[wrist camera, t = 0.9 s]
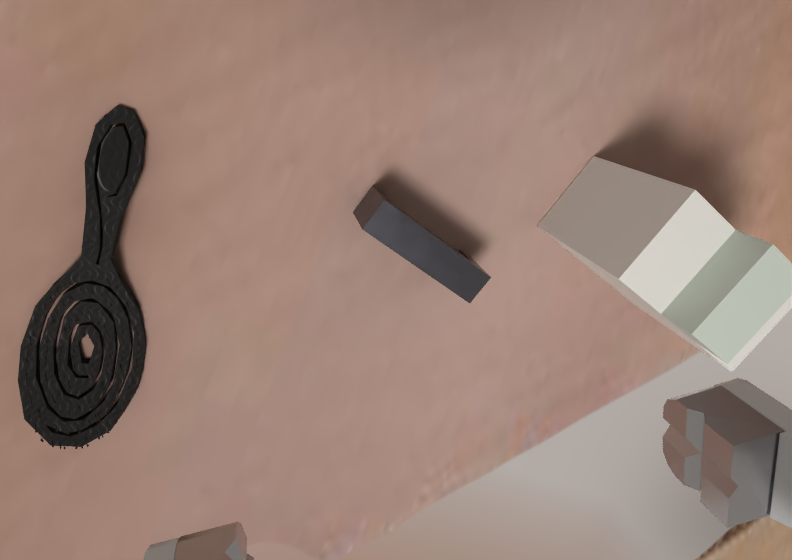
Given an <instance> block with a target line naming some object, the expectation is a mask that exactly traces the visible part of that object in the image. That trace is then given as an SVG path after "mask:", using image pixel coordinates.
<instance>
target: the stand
mask: <svg viewBox="0 0 792 560" xmlns="http://www.w3.org/2000/svg"><path fill="white" fill-rule="evenodd" d="M537 226H538V227H539V228H540V229H541V230H543V231H544V232H545V233H546V234H548V235H549V236H550V237H551V238H552V239H554V240H555V241H556V242H557V243H559V244H560V245H561V246H562V247H564V248H565V249H566V250H567V251H569V252H570V253H571V254H572V255H574V256H575V257H576V258H577V259H578V260H580V261H581V262H582V263H583V264H585V265H586V266H587V267H588V268H590V269H591V270H592V271H593V272H595V273H596V274H597V275H598V276H599V277H601V278H602V279H603V280H604V281H606V282H607V283H608V284H609V285H611V286H612V287H613V288H614V289H616V290H617V291H618V292H619V293H620V294H622V295H623V296H624V297H625V298H627V299H628V300H629V301H630V302H632V303H633V304H634V305H635V306H637V307H638V308H640V309H641V310H643V311H644V312H646V313H647V314H648V315H650V316H651V317H653V318H654V319H656V320H657V321H659V322H660V323H661V324H663V325H664V326H666V327H667V328H669V329H670V330H672V331H673V332H674V333H676V334H677V335H679V336H680V337H682V338H683V339H685V340H686V341H688V342H689V343H690V344H692V345H693V346H695V347H696V348H698V349H699V350H701V351H702V352H703V353H705V354H706V355H708V356H709V357H711V358H712V359H714V360H715V361H716V362H718V363H720V364H721V365H722V366H724V367H725V368H727V369H728V370H729V371H731V372H732V371H733V370H734V369H735V368H736V367H737V366H738V365H739V364H740V363H741V361H743V359H744V358H745V357H746V356H747V355H748V354H749V353H750V352H751V351H752V350H753V349H754V348H755V346H756V345H758V343H759V342H760V341H761V340H762V339H763V338H764V337H765V336H766V335H767V334H768V333H769V331H770V330H772V328H773V327H774V326H775V325H776V324H777V323H778V322H779V321H780V320H781V319H782V318H783V317H784V316H785V315H786V313H787V312H788V311H789V310H790V309H791V308H792V263H791V262H790V261H789V260H788V259H787V258H786V257H785V256H784V255H783V254H782V253H781V252H780V251H779V250H778V249H777V248H776V247H775V246H774V245H773V244H771V243H768V242H766V241H763V240H761V239H758V238H755V237H753V236H750V235H748V234H745V233H743V232H740V231H737V230H735V229H734V228H733V227H732V226H731V225H730V224H729V223H728V222H727V221H726V220H725V219H724V218H723V217H722V216H721V215H720V214H719V213H718V212H717V211H716V210H715V209H714V208H713V207H712V206H711V205H710V204H709V203H708V202H707V201H706V200H705V199H704V198H703V197H702V196H701V195H700V194H699V193H698V192H697V191H696V190H695V189H692V188H689V187H686V186H683V185H680V184H677V183H674V182H671V181H668V180H665V179H662V178H659V177H656V176H653V175H649V174H646V173H643V172H640V171H637V170H634V169H631V168H628V167H625V166H622V165H619V164H616V163H613V162H610V161H607V160H604V159H601V158H598V157H595V156H593V157H592V159H591V160H590V161H589V162H588V164H587V165H586V166H585V167H584V169H583V170H582V171H581V172H580V173H579V175H578V176H577V177H576V178H575V180H574V181H573V182H572V183H571V185H570V186H569V187H568V188H567V189H566V191H565V192H564V193H563V194H562V196H561V197H560V198H559V199H558V201H557V202H556V203H555V204H554V205H553V207H552V208H551V209H550V210H549V212H548V213H547V214H546V215H545V217H544V218H543V219H542V220H541V221H540V223H539V224H538V225H537Z"/></svg>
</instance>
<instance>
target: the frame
mask: <svg viewBox="0 0 792 560" xmlns="http://www.w3.org/2000/svg"><path fill="white" fill-rule="evenodd" d="M353 213H354V215H355V217H356V219H357V220H358V222H359V224H360V226H361V228H362V229H363V230H364V231H366V232H367V233H369V234H370V235H371V236H373V237H374V238H376V239H377V240H379V241H380V242H382V243H383V244H384V245H386V246H387V247H389V248H390V249H392V250H393V251H395V252H396V253H398V254H399V255H400V256H402V257H403V258H405V259H406V260H408V261H409V262H411V263H412V264H414V265H415V266H416V267H418V268H419V269H421V270H422V271H424V272H425V273H427V274H428V275H429V276H431V277H432V278H434V279H435V280H437V281H438V282H440V283H441V284H443V285H444V286H445V287H447V288H448V289H450V290H451V291H453V292H454V293H456V294H457V295H458V296H460V297H461V298H463V299H464V300H466V301H467V302H469V303H471V301H472V300H473V299H474V298H475V296H476V295H477V294H478V293H479V291H480V290H481V289H482V288H483V287H484V285H485V284H486V283H487V282H488V280H489V279H490V278H491V277H490V276H489V275H488V274H487V273H486V272H485V271H484V270H483V269H482V268H481V267H480V266H479V265H478V264H477V263H476V262H475V261H474V260H473V259H472V258H471V257H470V256H468V255H467V254H466V253H464V252H463V251H461V250H460V251H459V252H458V251H457V250H455V249H454V248H452V247H451V246H450V245H448V244H447V243H446V242H444V241H443V240H441V239H440V238H439V237H437V236H436V235H435V234H433V233H432V232H431V231H429V230H428V229H426V228H425V227H424V226H422V225H421V224H420V223H418V222H417V221H415V220H414V219H413V218H411V217H410V216H409V215H407V214H406V213H404V212H403V211H402V210H400V209H399V208H398V207H396V206H395V205H393V203H392V202H391V201H390V200H389V199H388V197H387V196H386V195H385V194H384V193H382V192H381V191H379V190H378V189H377V188H375V187H374V186H372V187H371V189H370V190H369V191H368V193H367V194H366V195H365V197H364V198H363V200H362V201H361V202H360V204H359V205H358V206H357V208H356V209H355V210H354V212H353Z"/></svg>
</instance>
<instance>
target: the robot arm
mask: <svg viewBox="0 0 792 560" xmlns="http://www.w3.org/2000/svg"><path fill="white" fill-rule="evenodd" d="M663 418H664V419H665V420H666V421H667V422H668V423H669V424H670V426H669V428H668V429H667V431H666V433H665V434H664V436H663V452H664V455H665V458H666V461H667V463H668V466H669V467H670V469H671V470H672V472H673V473H674V475H675V476H676V477H677V478H678V479H679V480H680V481H681V482H682V483H683V484H684V485H686V486H688V487H691V488H694V489H696V490H699V491H700V501H701V503H702V504H703V505H704V506H705V507H706V508H707V509H709V510H710V512H711V513H712V514H714V516H716V517H717V518H718V519H719V520H720V521H721V522H722V523H723V524H724V525H725V526H726V527H731V526H734V525H738V524H741V523H744V522H748V521H751V520H755V519H758V518H762V517H765V516H769V515H770V518H772V519H774V520H776V521H778V522H780V523H782V524H784V525H786V526H788V527H790V528H792V410H791V409H789V408H788V407H786V406H785V405H783V404H782V403H780V402H779V401H777V400H776V399H774V398H773V397H771V396H769V395H768V394H767V393H765V392H764V391H762V390H760V389H759V388H757V387H756V386H754V385H753V384H751V383H750V382H748V381H747V380H743V379H739V378H737V379H734V380H731V381H727V382H724V383H720V384H717V385H714V386H713V387H709V388H705V389H702V390H699V391H695V392H692V393H688V394H685V395H681V396H678V397H675V398H671V399H668V400H667V401H666V403H665V405H664V412H663ZM144 560H254V558H253V557H252V556H250V555H249V554H247V537H246V535H245V532H244V530H243V527H242V524H241V523H239V522H235V523H231V524H227V525H223V526H220V527H216V528H212V529H208V530H204V531H200V532H196V533H193V534H189V535H185V536H181V537H180V538H176V539H172V540H168V541H164V542H160V543H156V544H153V545H150V546H149V548H148V549H147V551H146V552H145V556H144Z"/></svg>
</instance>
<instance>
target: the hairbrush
mask: <svg viewBox="0 0 792 560" xmlns="http://www.w3.org/2000/svg"><path fill="white" fill-rule="evenodd" d="M124 122H125V124H126V126H116V127H113V128H112V126H113V124H117V123H124ZM111 125H112V126H111ZM124 127H125V128H126V127H127V128H126V129H125V128H124ZM109 128H110V129H111V128H112V129H111V131H110V129H109ZM142 129H143V127H142V125H141V122H140V121H139V119H138V117H137V116H136V114H135V112H134V111H133V110H132V109H129V108H124V107H120V106H116V107H115V108H114V109H113V110H112V111H110V112H109V113H107V115H106V116H104V118H103V119H101V120H100V121H99V122H98V123H97V124H96V125H95V129H94V132H93V136H92V139H91V143H90V146H89V150H88V153H87V156H86V160H85V183H86V213H85V224H84V234H83V244H82V254H81V257H80V258H79V260H78V261H77V262H76V263H75V264H74V265H73V266H72V268H71V269H70V270H69V271H68V272H67V273H65V274H64V275H63V276H62V277H61V278H60V279H59V280H58V281H57V282H55V283H56V284H55V283H54V284H55V285H54V284H53V285H54V286H53V285H52V286H53V287H52V288H51V289H50V290H49V291H48V292H47V293H46V295H45V296H44V297H43V298H42V299H41V300H40V301H39V302H38V304H37V305H36V306H35V308H34V311H33V314H32V317H31V320H30V322H29V325H28V328H27V331H26V333H25V336H24V339H23V342H22V345H21V351H20V363H19V376H18V384H19V389H20V395H21V401H22V407H23V413H24V419H25V420H26V421H27V422H28V423H29V424H30V425H31V426H32V427H33V428H34V429H35V432H38V433H39V434H40V435H41V436H42V437H43V438H44V439H45V440H46V441H47V442H48V443H49V444H50V445H52V447H54V446H60V449H61V446H76V448H75V449H77V447H81V448H83V446H84V445H85V444H87V443H89V442H91V441H93V440H94V439H96V438H98V437H99V438H98V439H100V436H102V435H103V434H105V433H109V431H111V429H112V428H113V427H114V425H115V424H116V422H117V421H118V419H119V418H120V417H121V415H122V414H123V412H124V411H125V410H126V408H127V406H128V405H129V403H130V401H131V399H132V398H133V396H134V394H135V393H136V390H137V388H138V386H139V382H140V379H141V375H142V372H143V366H144V359H145V350H146V339H145V330H144V322H143V316H142V314H141V311H140V307H139V303H138V302H137V304H138V306H137V304H136V302H135V300H134V298H133V296H134V295H133V293H132V291H131V290H130V288H129V286H128V285H127V283H126V281H125V280H124V278H123V276H122V274H121V271H120V269H119V267H118V265H117V263H116V261H115V259H114V257H113V256H114V252H115V248H116V244H117V239H118V235H119V231H120V227H121V223H122V219H123V215H124V211H125V209H126V206H127V204H128V202H129V200H130V197H131V195H132V193H133V190H134V188H135V186H136V183H137V181H138V179H139V176H140V174H141V172H142V169H143V157H144V145H145V138H144V136H143V131H144V129H143V131H142ZM126 130H127V131H126ZM109 131H110V132H109ZM108 132H109V134H108ZM107 134H108V135H107ZM144 134H145V131H144ZM106 135H107V137H106V138H105V136H106ZM104 138H105V139H104ZM103 139H104V141H103ZM102 141H103V142H102ZM131 141H132V149H131ZM101 142H102V145H101ZM130 150H131V156H130ZM129 158H130V162H129ZM128 165H129V169H128ZM127 173H128V175H127ZM126 176H127V178H126ZM125 178H126V180H125ZM124 180H125V182H124V184H123V185H122V187H121V189H120V191H119V192H118V193H117V194H114V195H112V194H113V193H115V192H116V191H118V189H119V188H120V186H121V184H122V183H123V181H124ZM98 186H99V187H98ZM99 193H100V197H99ZM100 200H101V207H102V214H103V229H102V216H101V207H100ZM102 247H103V250H102ZM101 252H102V254H101ZM100 256H101V258H100ZM99 260H100V261H99ZM80 282H83V283H80ZM74 283H79V285H77V284H76V286H75V285H74V286H73V287H72V288H70V289H69V290H68V291H67V292H66V293H64V294H63V296H62V297H61V299H60V300H59V302H58V304H57V305H56V307H55V308H54V310H53V312H52V313H51V315H50V316H49V318H48V321H47V324H46V328H45V331H44V334H43V338H42V341H41V344H40V341H39V340H40V336H41V331H42V327H43V324H44V322H45V319H46V316H47V314H48V312H49V310H50V309H51V307H52V305H53V303H54V301H55V300H56V298H57V297H58V296H59V295H60V294H61V293H62V292H63V291H64V290H65V289H67V288H68V287H70V286H71V285H73V284H74ZM111 289H112V290H113V291H112V290H111ZM132 295H133V296H132ZM134 297H135V296H134ZM92 298H94V299H95V300H93V299H92ZM84 299H86V300H84ZM120 299H121V300H120ZM135 299H136V298H135ZM78 300H83V301H81V302H79V303H77V304H75V305H74V306H73V308H72V309H71V310H70V311H69V312H68V314H67V315H66V316H65V317H64V321H63V325H62V330H61V334H60V339H59V343H58V347H57V352H56V342H57V341H56V340H57V334H58V330H59V325H60V321H61V319H62V317H63V315H64V313H65V311H66V310H67V309H68V308H69V307H70V306H71V305H72V303H73V302H75V301H78ZM136 301H137V300H136ZM122 302H123V303H124V304H123V303H122ZM124 305H125V306H124ZM126 307H127V309H126ZM138 307H139V308H138ZM127 310H128V313H127ZM109 311H110V312H112V313H113V316H114V320H113V317H112V314H111V313H110V312H109ZM128 314H129V316H128ZM129 317H130V320H129ZM114 321H115V322H114ZM130 321H131V324H132V327H133V331H134V345H133V362H132V369H131V372H130V374H129V376H128V379H127V381H126V384H125V386H124V389H123V391H122V394H121V396H120V398H119V400H118V401H117V402H116V403H115V405H114V406H113V407H112V408H111V410H110V411H109V412H108V413H107V414H106V415H105V413H106V412H107V411H108V410H109V408H110V407H111V405H112V404H113V403H114V401H115V400H116V399H117V397H118V395H119V393H120V391H121V389H122V386H123V383H124V381H125V378H126V376H127V373H128V372H127V371H129V366H130V361H131V355H132V332H131V325H130ZM91 322H93V323H94V324H95V325H96V326H97V327H96V326H95V325H93V324H92V323H91ZM80 323H83V324H80ZM76 324H80V325H79V326H78V328H77V330H76V333H75V336H74V338H73V342H72V345H71V349H70V338H71V334H72V331H73V328H74V326H75V325H76ZM116 330H117V332H116ZM100 331H101V332H102V333H103V339H104V345H105V351H106V352H105V358H104V363H103V369H102V374H101V376H100V378H99V380H98V382H97V383H96V385H95V386H94V387H93V388H92V389H91V390H90V391H88V392H85V391H86V390H88V389H89V388H91V387H92V386H93V384H94V382H95V380H96V378H97V376H98V374H99V373H100V371H101V367H102V364H101V363H102V362H103V360H102V359H103V340H102V336H101V333H100ZM86 334H88V335H89V338H90V339H91V340H92V342H93V344H94V346H95V347H94V350H93V353H92V356H91V359H89V360H90V361H88V360H87V359H84V360H85V361H83V358H82V354H81V349H80V343H81V340H82V338H83V337H84V336H85V335H86ZM117 334H118V339H119V343H120V347H119V353H118V359H117V366H116V372H115V378H114V383H113V385H112V387H111V388H110V390H109V391H108V393H107V394H106V395H105V397H104V398H103V400H102V401H101V403H100V404H99V405H98V406H97V407H96V408H95V409H93V408H94V407H95V406H96V404H97V403H98V402H99V401H100V399H101V398H102V396H103V395H104V394H105V392H106V391H107V389H108V388H109V386H110V383H111V381H112V379H113V376H114V370H115V363H116V355H117V352H116V351H117ZM38 344H39V346H38ZM70 351H71V356H70V360H69V355H70ZM39 353H40V360H39ZM55 356H56V360H57V363H56V361H55ZM71 358H72V359H71ZM84 392H85V393H84ZM92 409H93V410H92ZM87 412H88V413H87ZM85 413H86V414H85ZM104 415H105V416H104ZM103 416H104V417H103ZM102 417H103V418H102ZM100 418H101V419H100ZM97 420H98V421H97ZM92 423H93V424H92ZM102 437H103V436H102ZM43 438H42V439H43ZM42 439H41V441H42V442H43V440H42ZM88 446H89V445H88V444H87V447H88ZM64 449H65V447H64Z"/></svg>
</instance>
